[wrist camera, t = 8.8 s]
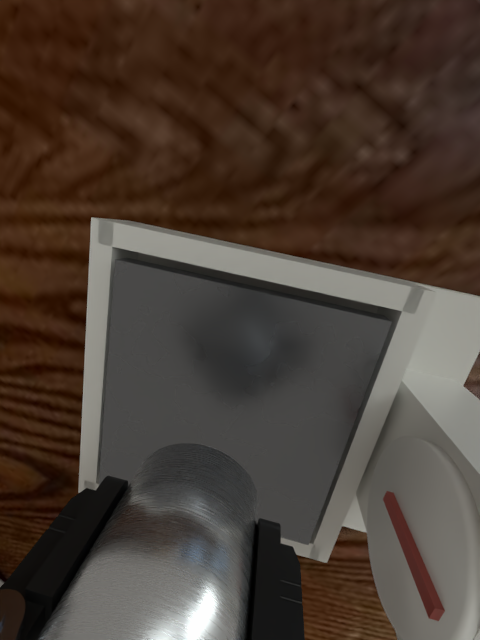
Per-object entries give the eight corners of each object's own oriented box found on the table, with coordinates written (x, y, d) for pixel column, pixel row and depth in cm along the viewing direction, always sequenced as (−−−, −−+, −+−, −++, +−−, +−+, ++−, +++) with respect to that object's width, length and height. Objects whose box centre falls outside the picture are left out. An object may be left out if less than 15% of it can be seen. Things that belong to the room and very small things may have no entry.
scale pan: (383, 315, 15) (392, 321, 14) (306, 526, 19) (308, 545, 18) (127, 257, 16) (115, 259, 15) (108, 471, 20) (98, 486, 19)
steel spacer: (271, 463, 10) (261, 739, 5) (244, 558, 12) (210, 857, 6) (141, 428, 11) (-14, 648, 5) (130, 525, 12) (-2, 782, 6)
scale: (491, 298, 17) (909, 427, 6) (384, 525, 23) (491, 826, 11) (129, 220, 19) (-109, 200, 7) (110, 451, 24) (-45, 649, 13)
